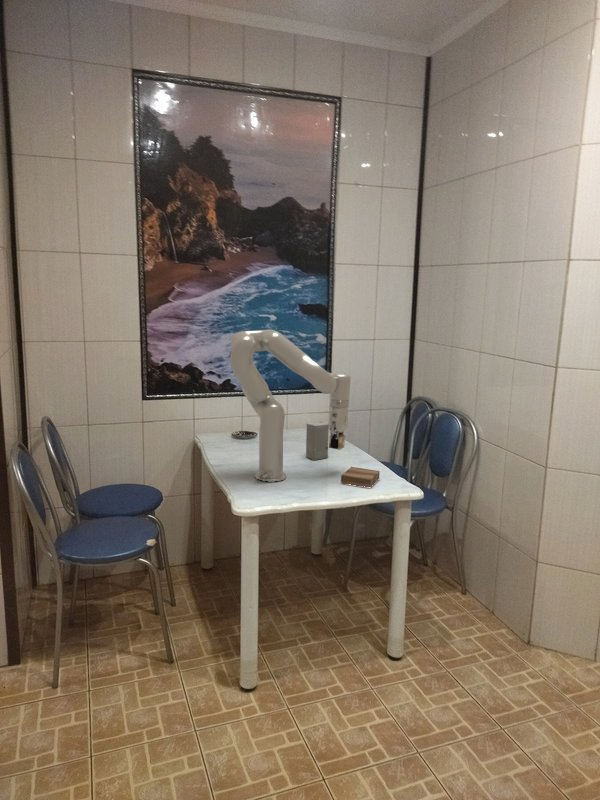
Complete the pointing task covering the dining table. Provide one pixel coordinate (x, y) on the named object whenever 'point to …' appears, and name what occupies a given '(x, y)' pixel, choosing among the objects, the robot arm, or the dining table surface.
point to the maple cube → (341, 441)
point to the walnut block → (360, 477)
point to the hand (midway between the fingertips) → (336, 446)
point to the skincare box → (317, 440)
